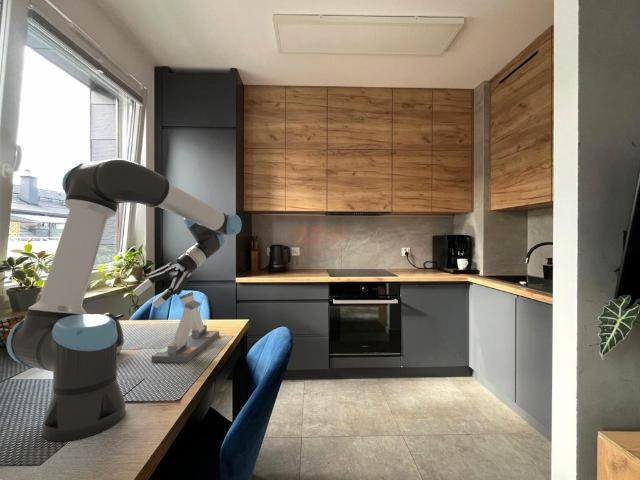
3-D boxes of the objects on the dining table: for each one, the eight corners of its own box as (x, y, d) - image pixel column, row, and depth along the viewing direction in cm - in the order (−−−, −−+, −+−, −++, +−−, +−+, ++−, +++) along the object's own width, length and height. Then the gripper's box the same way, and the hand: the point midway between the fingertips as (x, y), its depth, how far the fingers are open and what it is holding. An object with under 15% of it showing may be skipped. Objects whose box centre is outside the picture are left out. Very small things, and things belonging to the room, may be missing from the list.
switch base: (219, 335, 137) (219, 324, 137) (186, 362, 107) (186, 347, 107) (191, 335, 137) (191, 323, 137) (151, 362, 107) (151, 347, 107)
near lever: (184, 347, 116) (200, 302, 116) (176, 353, 110) (193, 306, 109) (177, 344, 116) (193, 300, 116) (168, 350, 110) (185, 303, 110)
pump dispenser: (121, 358, 111) (121, 314, 111) (85, 362, 107) (85, 317, 107) (127, 348, 120) (127, 308, 120) (94, 352, 116) (94, 311, 116)
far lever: (206, 330, 134) (192, 291, 134) (200, 335, 128) (185, 294, 128) (200, 333, 134) (186, 294, 134) (193, 337, 128) (179, 296, 128)
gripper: (214, 275, 119) (168, 317, 107) (178, 259, 133) (133, 295, 121) (205, 260, 115) (156, 303, 103) (169, 246, 129) (122, 282, 117)
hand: (144, 299), depth 112 cm, fingers open, 13 cm apart
